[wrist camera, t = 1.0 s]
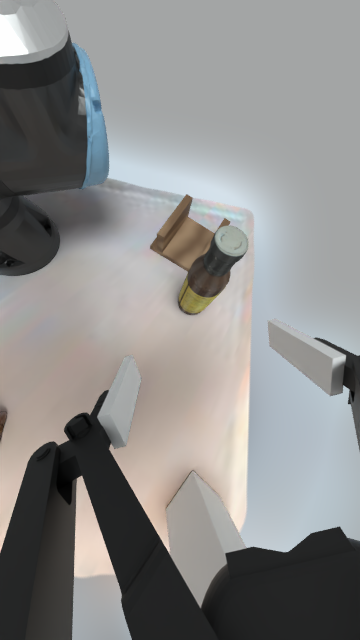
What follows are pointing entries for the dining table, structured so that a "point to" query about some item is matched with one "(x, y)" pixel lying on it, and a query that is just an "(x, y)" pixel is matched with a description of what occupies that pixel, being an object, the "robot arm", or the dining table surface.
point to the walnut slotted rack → (183, 237)
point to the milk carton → (200, 534)
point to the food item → (2, 421)
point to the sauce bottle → (212, 270)
